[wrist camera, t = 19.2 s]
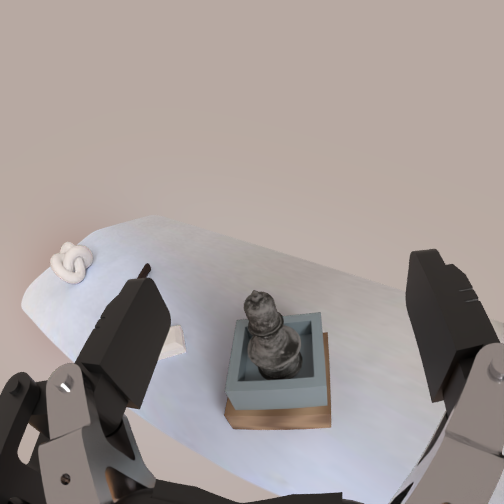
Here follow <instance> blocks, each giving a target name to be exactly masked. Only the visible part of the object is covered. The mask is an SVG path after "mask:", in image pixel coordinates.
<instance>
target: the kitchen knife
mask: <svg viewBox="0 0 504 504" xmlns="http://www.w3.org/2000/svg"><path fill="white" fill-rule="evenodd" d="M150 270H151V267H150V265H149V264H148V263H147V264H145V266H144V268H143V269H142V271H141V273H140V274H139V276H138V278H137V279H140V278H146V276H147V274H148V273H149V272H150Z"/></svg>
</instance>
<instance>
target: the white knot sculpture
mask: <svg viewBox="0 0 504 504" xmlns="http://www.w3.org/2000/svg"><path fill="white" fill-rule="evenodd" d="M92 261H93V255H92V252H91V251H90V250H89V249H88V248H87V247H85V246H82V245H76V246H75V245H74V244H73V243H71V242H66V243H64V244H63V245H62V247H61V249H60V253H57V254H54V255H53V256H52V257H51V263H50V264H51V268H52V270H53V271H54V273H55V274H56V275H57V276H58V277H59V278H60V279H62V280H63V281H65V282H67V283H71V284H78V283H80V282H81V281H82V280H83V279H84V277H85V269H87V268H88V267H89V266H90V265H91V264H92ZM73 270H75V272H73Z"/></svg>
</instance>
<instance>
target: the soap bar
mask: <svg viewBox="0 0 504 504" xmlns="http://www.w3.org/2000/svg"><path fill="white" fill-rule="evenodd" d="M185 352H186V346H185V340H184V334H183V330H182V328H181V326H180V325H178V326H172V327H170V330H169V332H168V335H167V338H166V340H165V343H164V345H163V348H162V351H161V353H160V356H159V358H158V360H162V359H165V358H169V357H172V356H175V355H179V354H182V353H185Z"/></svg>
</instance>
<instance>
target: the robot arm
mask: <svg viewBox="0 0 504 504" xmlns="http://www.w3.org/2000/svg"><path fill="white" fill-rule="evenodd" d="M406 307H407V311H408V315H409V318H410V321H411V324H412V328H413V331H414V334H415V338H416V341H417V345H418V348H419V352H420V356H421V359H422V363H423V367H424V371H425V375H426V379H427V383H428V388H429V392H430V396H431V401H432V403H434V402H438V401H443V400H444V402H445V407H446V411H445V413H444V415H443V417H442V419H441V421H440V423H439V425H438V426H437V428H436V430H435V432H434V434H433V436H432V438H431V440H430V441H429V443H428V445H427V447H426V448H425V450H424V452H423V454H422V455H421V457H420V459H419V460H418V462H417V464H416V465H415V467H414V468H413V470H412V471H411V473H410V474H409V475H408V477H407V478H406V479H405V481H404V482H403V484H402V485H401V486H400V488H399V489H398V491H397V492H396V493H395V495H394V496H393V498H392V499H391V500H390V502H389V503H388V504H488V502H489V500H490V498H491V496H492V494H493V492H494V490H495V488H496V485H497V483H498V481H499V479H500V476H501V474H502V471H503V469H504V455H502V449H503V446H504V344H502V343H500V341H499V339H498V337H497V335H496V333H495V330H494V328H493V326H492V324H491V322H490V320H489V318H488V316H487V314H486V312H485V310H484V308H483V306H482V304H481V302H480V301H478V296H477V295H476V293H475V291H474V290H473V289H472V285H471V284H470V282H469V280H468V278H467V277H466V275H465V274H464V273H463V272H462V271H461V270H460V269H458V268H457V267H456V266H455V265H453V264H449V265H445V263H444V261H443V259H442V258H441V256H440V254H439V252H438V251H437V250H436V249H429V250H421V251H413V252H411V254H410V260H409V270H408V278H407V287H406ZM100 318H101V319H99V320H98V322H97V324H96V325H95V329H93V331H92V332H91V334H90V336H89V338H88V339H87V341H86V343H85V345H84V347H83V348H82V350H81V352H80V354H79V356H78V358H77V360H76V361H75V363H67V364H64V365H62V366H60V367H58V368H57V369H56V370H55V371H54V372H53V373H52V374H51V376H50V377H49V379H48V380H47V381H41V382H35V381H34V380H33V379H32V378H31V377H30V376H29V375H28V374H27V373H25V372H20V373H17V374H15V375H14V376H12V377H11V378H10V379H9V381H8V382H7V383H6V385H5V387H4V389H3V391H2V393H1V395H0V504H364V503H360V502H356V501H353V500H346V499H342V492H339V493H323V494H292V495H287V496H282V497H277V498H272V499H267V500H261V501H255V502H248V503H238V502H235V501H232V500H229V499H226V498H223V497H221V496H218V495H215V494H213V493H210V492H208V491H205V490H203V489H200V488H198V487H195V486H188V485H182V484H177V483H172V482H167V481H163V480H158V479H156V478H155V477H154V475H153V474H152V473H151V472H150V471H149V470H148V468H147V467H146V466H145V464H144V462H143V460H142V457H141V454H140V452H139V449H138V446H137V444H136V441H135V438H134V436H133V433H132V430H131V427H130V424H129V421H128V418H127V417H126V415H125V414H124V412H125V409H126V407H128V408H135V409H140V408H141V405H142V402H143V399H144V396H145V394H146V391H147V388H148V385H149V383H150V380H151V377H152V374H153V372H154V369H155V366H156V364H157V361H158V358H159V356H160V353H161V351H162V348H163V345H164V343H165V340H166V338H167V335H168V332H169V330H170V326H171V317H170V313H169V310H168V308H167V306H166V304H165V302H164V300H163V298H162V296H161V294H160V292H159V290H158V288H157V286H156V284H155V282H154V281H153V280H152V279H151V278H140V279H130V280H128V281H127V282H126V284H125V285H124V287H123V288H122V290H121V292H120V293H119V295H117V296H116V297H115V298H114V299H113V300H112V301H111V302H110V303H109V304H108V305H107V307H106V308H105V310H104V312H103V313H102V315H101V317H100ZM28 423H29V424H30V425H31V426H33V427H34V428H35V429H36V430H38V431H39V432H40V434H39V437H38V439H37V442H36V445H35V447H34V450H33V453H32V456H31V458H30V461H29V463H28V464H27V465H25V464H24V463H22V462H21V461H20V459H19V457H18V454H17V451H18V447H19V444H20V442H21V439H22V437H23V434H24V432H25V429H26V426H27V424H28Z"/></svg>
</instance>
